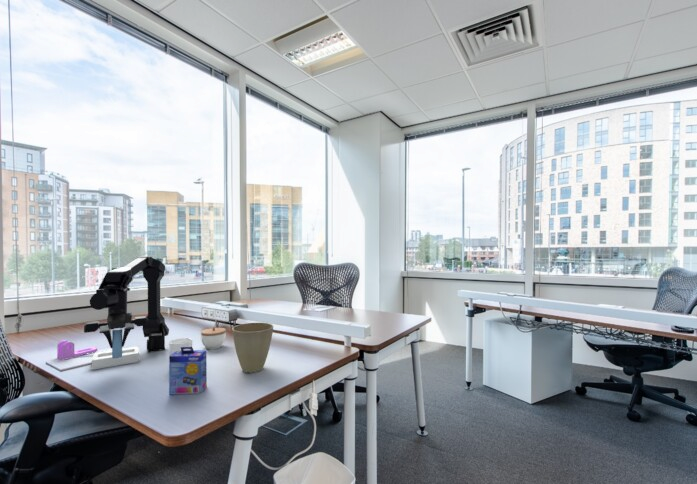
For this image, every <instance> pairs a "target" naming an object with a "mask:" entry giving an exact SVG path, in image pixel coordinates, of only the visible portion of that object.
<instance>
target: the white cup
mask: <svg viewBox="0 0 697 484" xmlns="http://www.w3.org/2000/svg"><path fill="white" fill-rule="evenodd" d="M168 345H169V356H170V355H171V354H173V353H174V352H176V351H181V347H192V348H193V339H192V338H190V337H189V338H188V337H183V338H176V339H175V338H174V339H173V340H170V341H168ZM183 350H191V349H183Z"/></svg>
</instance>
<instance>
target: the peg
mask: <svg viewBox="0 0 697 484" xmlns="http://www.w3.org/2000/svg"><path fill="white" fill-rule="evenodd" d="M111 336H112V348H111V350H112V358H114V359H115V358H120V357H122V349H123V347H122V340H123V328H115V329H111Z"/></svg>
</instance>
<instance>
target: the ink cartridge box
mask: <svg viewBox="0 0 697 484" xmlns="http://www.w3.org/2000/svg"><path fill="white" fill-rule="evenodd" d="M183 349H191V350H183ZM168 357H169V358H168V363H169V364H168V368H169V369H168V370H169V371H168V372H169V373H168V375H169V376H168V382H169V383H168V395H199V394H202V393H203V391H204V390H206V388H207V386H208V385H207V382H208V381H207V377H208V376H207V374H208V373H207V370H208V369H207V367H208V366H207V349H205V350H204V349H203V350H202V349H201V350H199V349H198V350H194V348H193V346H192V347H181V351H176V352H174V353H173V354H171V355H170V354H169V356H168Z"/></svg>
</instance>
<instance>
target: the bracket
mask: <svg viewBox="0 0 697 484" xmlns="http://www.w3.org/2000/svg"><path fill="white" fill-rule="evenodd" d="M56 349H57V350H56V351H57V355H56V358H57V359H59V358H60V360H62V359H65V358H70V357H74V358H76V357H75V356H78V357H80V356H79V355H82V356H84V355H83V354H86V355H88V354H87V353H90V354H93V353H92V352H94V353H97V352H98V347H96V346H93V347H92V346H91V347H86V348H81V349H76V350H75V343H74V342H72V341H69V340H65V339H63V340H61V341H58V343H57V346H56ZM96 351H97V352H96ZM70 359H71V358H70ZM65 360H66V359H65Z"/></svg>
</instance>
